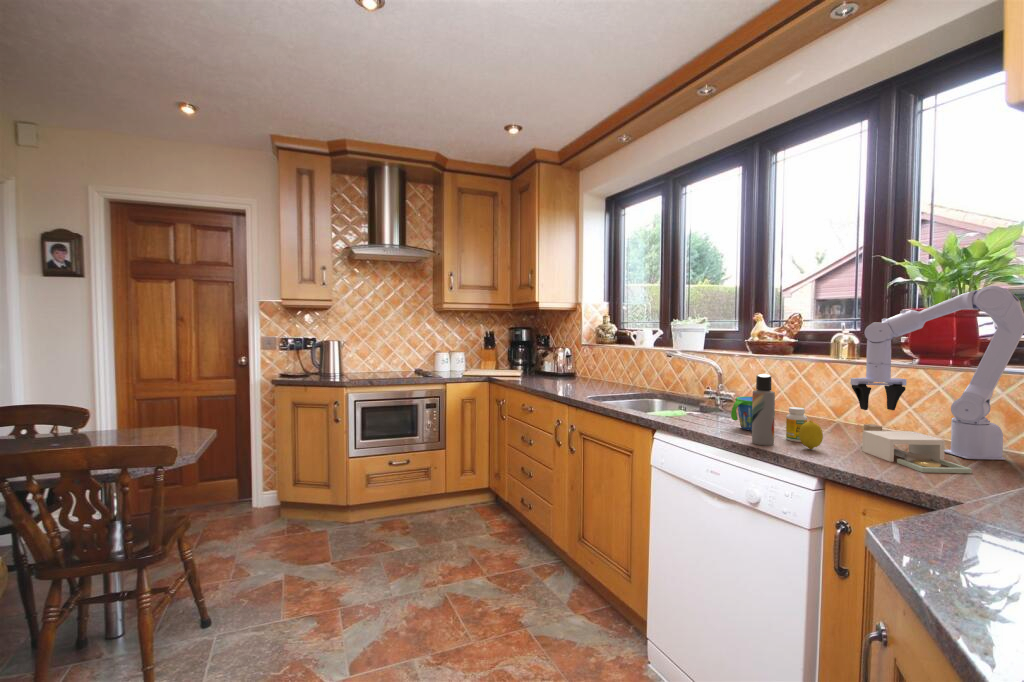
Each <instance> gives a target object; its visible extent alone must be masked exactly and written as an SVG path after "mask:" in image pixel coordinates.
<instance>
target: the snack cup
mask: <svg viewBox="0 0 1024 682" xmlns="http://www.w3.org/2000/svg"><path fill="white" fill-rule="evenodd" d="M752 398H753V396H737V397H736V398H735V402H734V404H732V407H731V412H730V416H731V419H732V420H733V421H738V419H739V426H740V427H741V429H743V430H745V431H746V430H747V431H751V432H752ZM737 412H738V413H737Z"/></svg>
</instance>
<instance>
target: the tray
mask: <svg viewBox="0 0 1024 682" xmlns="http://www.w3.org/2000/svg"><path fill="white" fill-rule="evenodd" d="M896 463H897V464H900V465H902V466H903V467H908V468H909V469H913V470H915V471H918V472H919V473H920V472H921V473H933V474H934V473H937V474H938V473H940V474H942V473H943V474H972V473H973V469H972V468H970V467H967V466H964V465H961V464H957V463H955V462H951V461H949V460H947V459H946V460H945V459H944V460H940V461H939V462H938V463H940V464H941V467H922V466H919V465H916V464H913V463H911V462H908V461H905V459H903V458H896ZM942 465H943V466H945V467H943V466H942Z"/></svg>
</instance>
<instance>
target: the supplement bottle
mask: <svg viewBox="0 0 1024 682" xmlns="http://www.w3.org/2000/svg"><path fill="white" fill-rule="evenodd" d="M788 412H789V413H788V414H786V418H785V421H786V422H785V423H786V425H785V433H786V435H785V437H786V440H788V441H790V442H794V443H795V442H797V443H802V442H801V441H800V438H799V431H800V428H801V426H802V425H803V424H804V423H806V422H808V417H807V416H806V415H805V412H806V409H805V408H804V407H795V406H794V407H793V406H792V407H791V406H790V407H788Z"/></svg>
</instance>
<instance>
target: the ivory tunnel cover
mask: <svg viewBox="0 0 1024 682" xmlns="http://www.w3.org/2000/svg"><path fill="white" fill-rule="evenodd" d="M861 438H862V441H861V442H862V443H861V444H862V445H861V446H862V448H861V451H862V452H863V453H866V454H869V455H871V456H874V457H876V458H879V459H881V460H884V461H887V462H892V463H893V462H894V457H895V455H894V448H895V445H908V453H910V454H929V455H930V461H935V462H938V463H939V461H940V460H945V452H944V450H945V444H946V443H945V442H946V440H945V439H942V438H938V437H934V436H932V435H928V434H924V433H920V432H916V431H913V430H912V431H908V430H904V431H902V430H882V431H864V430H862V437H861Z"/></svg>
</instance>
